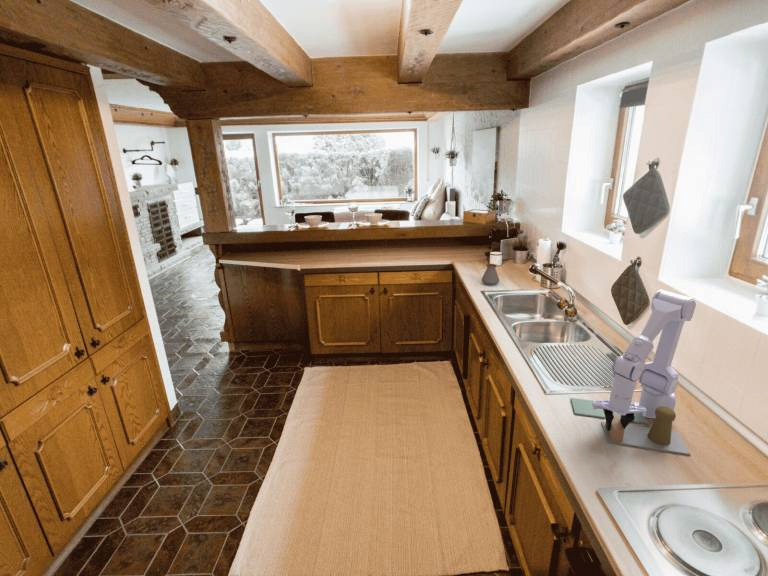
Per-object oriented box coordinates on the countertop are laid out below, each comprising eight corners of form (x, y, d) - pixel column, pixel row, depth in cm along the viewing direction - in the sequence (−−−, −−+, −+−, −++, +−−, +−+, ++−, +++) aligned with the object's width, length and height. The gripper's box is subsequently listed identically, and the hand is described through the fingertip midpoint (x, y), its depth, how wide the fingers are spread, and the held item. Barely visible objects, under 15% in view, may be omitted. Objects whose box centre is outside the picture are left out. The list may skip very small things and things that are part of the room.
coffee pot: (500, 286, 260) (502, 264, 255) (482, 286, 260) (484, 264, 255) (493, 276, 280) (495, 255, 275) (477, 276, 280) (478, 255, 275)
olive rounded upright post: (661, 431, 128) (669, 402, 125) (675, 445, 123) (683, 415, 119) (643, 432, 128) (650, 403, 125) (655, 445, 123) (663, 415, 119)
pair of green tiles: (638, 407, 141) (639, 406, 141) (647, 424, 133) (647, 422, 133) (570, 399, 146) (570, 397, 146) (574, 414, 138) (575, 413, 138)
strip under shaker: (677, 433, 128) (680, 421, 127) (690, 455, 119) (694, 443, 118) (601, 422, 134) (603, 411, 133) (608, 443, 125) (611, 431, 123)
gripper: (598, 397, 122) (591, 434, 127) (652, 404, 118) (643, 442, 123) (593, 384, 128) (587, 420, 133) (645, 391, 125) (636, 427, 129)
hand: (614, 429), depth 128 cm, fingers closed on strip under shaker, 3 cm apart
